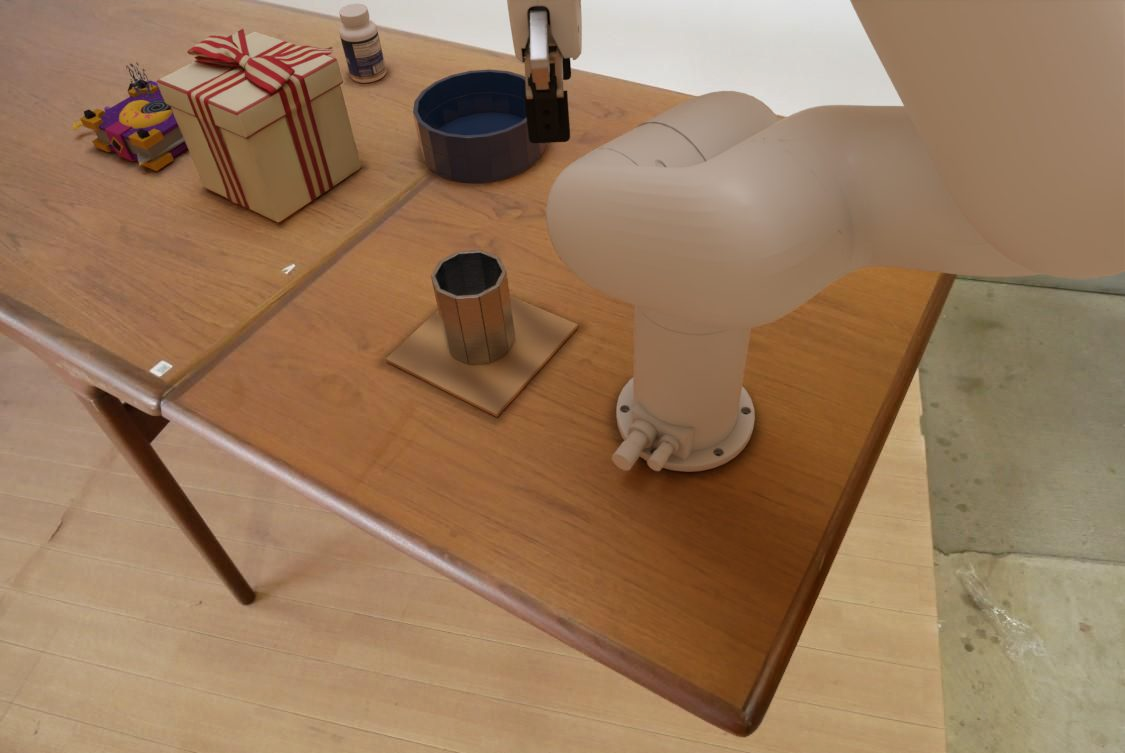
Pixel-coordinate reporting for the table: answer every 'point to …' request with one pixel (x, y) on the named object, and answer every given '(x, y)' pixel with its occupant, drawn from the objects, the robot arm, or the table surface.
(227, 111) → the gift box
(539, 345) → the plate
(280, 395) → the table surface
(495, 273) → the small pot
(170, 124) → the lego model
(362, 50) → the pill bottle
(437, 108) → the dark blue round tub
